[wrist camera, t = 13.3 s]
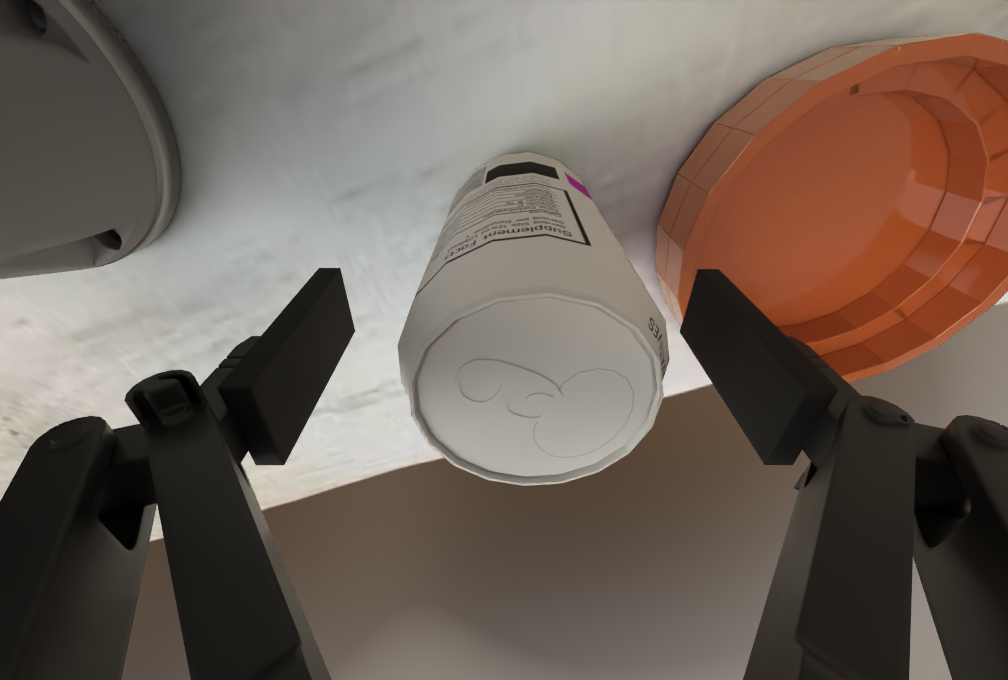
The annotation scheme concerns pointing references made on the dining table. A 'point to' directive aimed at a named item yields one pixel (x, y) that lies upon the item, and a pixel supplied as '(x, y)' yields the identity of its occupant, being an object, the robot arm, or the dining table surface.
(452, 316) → the supplement can
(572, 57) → the dining table surface
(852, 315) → the bowl
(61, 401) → the dining table surface
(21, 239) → the robot arm
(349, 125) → the dining table surface
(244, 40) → the dining table surface
